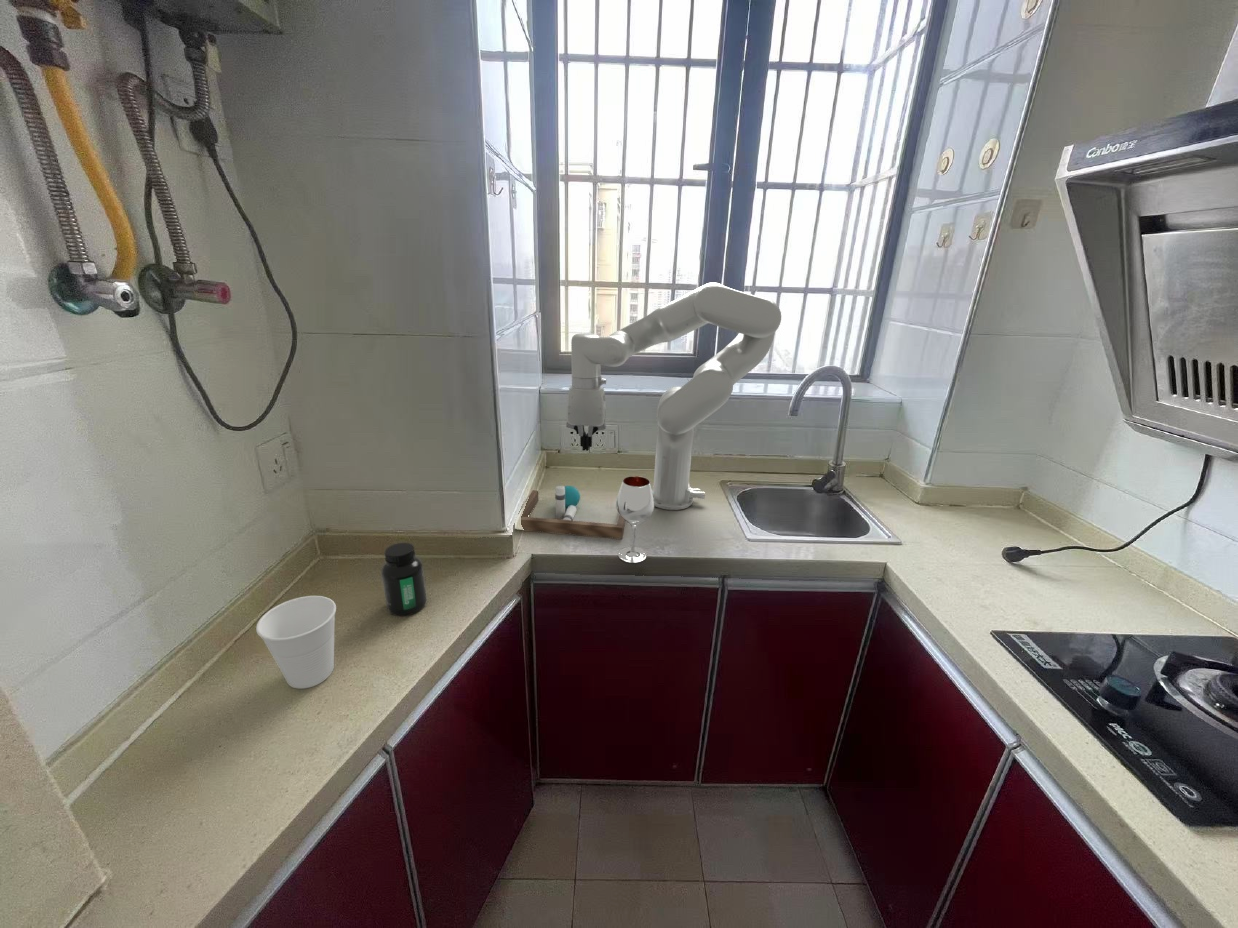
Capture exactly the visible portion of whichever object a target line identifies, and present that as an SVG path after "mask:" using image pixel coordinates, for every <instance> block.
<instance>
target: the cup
mask: <svg viewBox="0 0 1238 928" xmlns="http://www.w3.org/2000/svg"><path fill="white" fill-rule="evenodd" d="M336 611H337V605H336V603H335V601H334V600H332V599H331V598H329V597H326V596H322V595H306V596H305V595H304V596H301V597H296V598H291V599H290V600H286V601H284V602H282V603H280V604H278V605H276V606H274V607H273V608H270V610H268V611H266V613H264V614H263V615H262V616H261V617H260V619H259V620H258V621H257V623H256V627H255V628H256V629H255V630H256V634H257V635H258V636H259V637H260V638H261V639H262V641H263V642H264V645H265V646H266V647H267V649H268V651H269V652H270V655H271V656H272V658H273V659H274V662H275V664H276V665H277V666H278V668H279V670H280V672H281V674H282V676H283V677H284V679H285V682H286V683H287V685H288V686H289V687H291V688H293V689H303V690H304V689H309V688H313V687H315V686H318V685H320V684H321V683H323V682H324V681H325V680H326V679H328V678H329V677H330V676H331V675H332V673H333V671H334V668H335V623H336V622H335V615H336Z"/></svg>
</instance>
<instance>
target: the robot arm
mask: <svg viewBox="0 0 1238 928" xmlns="http://www.w3.org/2000/svg"><path fill="white" fill-rule="evenodd" d="M781 322H782V311H781V309H780V307H779V306H778V304H777V303H776V302H774V301H773V300H772V299H769V298H766V297H765V296H757V295H754V294H751V293H747V292H744V291H740V290H737V289H733V288H730V287H728V286H725V285H724V284H721V283H718V282H708V283H705V284H703V285H701V286H699V287H697V288H695V289H693V290H691V291H690V292H688V293H686V294H685V293H684V294H683V295H682V296H679V297H678V298H676V299H674V300H672V301H670V302H668V303H666V304H665V305H662V306H660V307H658V308H656V309H655V310H653V311H652V312H651V313H648V314H647V315H645V316H643V317H642V318H641V319H638V320H636V321H634V322H632V323H631V324H628V325H627V326H625V327H623V328H621V329H619V330H617V331H614V332H612V333H611V334H609V335H607V336H599V335H598V334H596V333H585V332H584V333H583V332H581V333H577V334H576V333H575V334H574V335H573V336H572V338H571V340H570V343H571V345H570V346H571V353H570V354H571V355H570V356H571V385H570V386H569V388H568V393H567V394H568V395H567V404H566V428H568V429H571V430H574V431H575V432H576V433H577V434H578V436H579V437H580V438H579V439H580V440H579V442H580V446H579V447H581V448H582V449H581V450H582V451H587V452H589V450H590V449H591V448H593V447H592V446H593V435H594V434H596V433H597V432H599V431H604V430H606V429H607V424H606V419H607V409H606V407H607V405H606V393H605V389H604V387H603V386H602V385H607V379H606V378H603V377H602V375H601V374H602V373H601V371H602V369H601V366H602V365H603V366H606V367H611V368H612V367H613V368H615V367H620V366H622V365H624V364H625V363H626V361H627V360H628V359H629V358H631V357H633V356H635V355H636V354H638V353H640V352H643V351H644V350H646V349H649V348H651V347H653V346H656V345H659V344H662V343H670V342H672V341H675V340H678V339H679V338H681V337H684V336H685V335H687V334H689V333H691V332H693V331H696V330H698V329H700V328H702V327H704V326H706V325H708V324H711V325H713V326H716V327H717V328H722V329H725V330H727V331H731V332H735V333H738V334H737V335H736V336H735V337H734V339H733V340H732V341H731V342H729V343H728V344H727V345H725V347H724V348H723V349H722V350H720V351H719V352H717V353H716V354H715V355H713V356H712V357H711V358H710V359H708V360H707V361H706V362H704V363H702V364H701V365H700V366H698V368H697V369H696V370H695V372H694V373H693V377H692V378H691V379H689V380H688V381H687V382H686V383H685V384H683V385H682V386H673V387H670V388H668V389H666V391H665V392H663V394H662V395H661V397H660V399H659V401H658V404H657V409H656V422H657V429H656V430H657V432H656V443H655V444H656V446H655V456H654V457H655V460H654V471H653V472H654V474H653V475H654V476H653V487H652V493H653V498H654V507H656V508H658V509H663V510H668V511H669V510H670V511H678V510H684V509H687V508H689V507H691V505H692V504H693V502H694V499H698V500H699V499H700V500H701V499H702V500H703V499H704V500H705V499H706V498H705V497H706V492H705V491H701V488H692V487H691V486H690V474H691V463H692V462H691V461H692V451H693V443H694V434H695V433H694V431H695V427H696V426H697V425H699V424H700V423H701V422H703V421H704V420H706V419H707V418H708V417H710V416H712V415H713V413H715V412H716V411H718V410H719V409H721V407H722V406H724V405H725V404H726V403H727V402H728V401H729V399H730V397H731V396H732V394H733V390H734V389H733V388H734V385H735V384H736V383H738V382H739V381H740V380H741V379H742V378H744V377H745V376H747V375H748V374H749V373H750V372H751V371H753V370H754V369H755V368H756V367H757V366H758V365H759V364H761V363H762V361H763V360H764V359H765V357H766V356H767V354H768V353H769V351H770V350H771V347H772V344H773V342H774V338H775V332H776V331H777V330H778V329H779V327H780V325H781ZM586 426H587V427H588V430H587V431H586V429H585V427H586Z"/></svg>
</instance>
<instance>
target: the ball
mask: <svg viewBox="0 0 1238 928" xmlns="http://www.w3.org/2000/svg"><path fill="white" fill-rule="evenodd" d="M563 486H564V485H563ZM564 487H565V509H567V508H568V506H570V505H573V506H575V507H577V505H578V504H579V502H580V500H581V494H580V492H579V490H578V489H577V488H576V487H575V486H572V485H565V486H564Z"/></svg>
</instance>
